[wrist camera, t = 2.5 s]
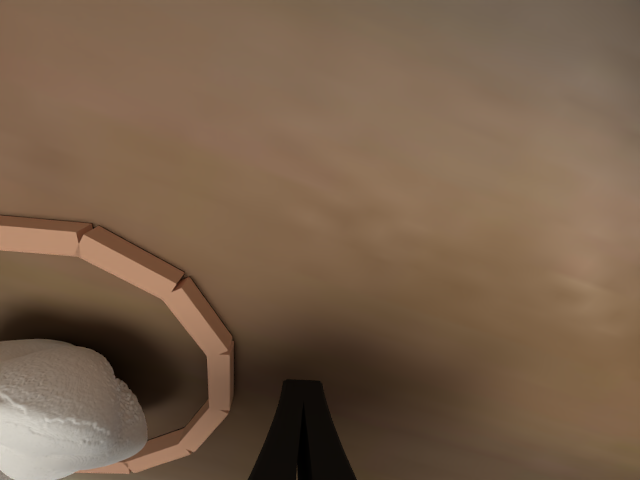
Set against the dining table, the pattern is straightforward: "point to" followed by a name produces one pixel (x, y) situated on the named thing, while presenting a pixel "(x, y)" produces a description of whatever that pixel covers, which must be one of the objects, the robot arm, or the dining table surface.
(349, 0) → the dining table surface
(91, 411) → the dumpling
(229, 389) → the segmented c-shaped arc
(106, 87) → the dining table surface
